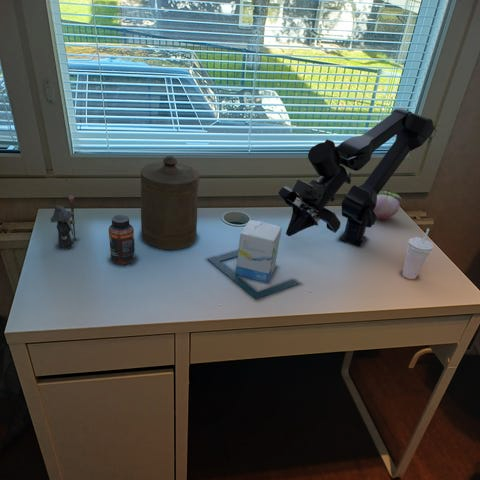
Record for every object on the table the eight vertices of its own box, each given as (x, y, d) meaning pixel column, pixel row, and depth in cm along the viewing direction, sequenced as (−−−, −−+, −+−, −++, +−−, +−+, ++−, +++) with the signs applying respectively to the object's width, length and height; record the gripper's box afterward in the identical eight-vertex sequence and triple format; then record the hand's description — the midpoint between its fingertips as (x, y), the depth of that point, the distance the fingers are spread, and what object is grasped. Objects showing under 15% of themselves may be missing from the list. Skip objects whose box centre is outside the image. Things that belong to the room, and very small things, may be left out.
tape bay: (249, 248, 129) (249, 247, 129) (298, 284, 117) (298, 283, 117) (208, 260, 122) (208, 259, 122) (255, 299, 110) (256, 298, 110)
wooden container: (203, 230, 135) (207, 153, 121) (185, 254, 123) (188, 172, 110) (154, 220, 137) (152, 143, 123) (132, 243, 125) (128, 160, 112)
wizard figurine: (75, 252, 119) (69, 207, 112) (52, 251, 118) (44, 206, 111) (80, 236, 125) (75, 193, 118) (58, 235, 125) (52, 192, 117)
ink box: (267, 283, 116) (274, 241, 109) (234, 274, 118) (239, 232, 111) (275, 266, 123) (282, 226, 116) (244, 258, 124) (249, 218, 117)
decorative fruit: (392, 215, 156) (401, 186, 150) (396, 226, 149) (405, 196, 143) (364, 211, 156) (372, 182, 150) (366, 222, 150) (374, 192, 144)
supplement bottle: (140, 258, 120) (138, 217, 113) (126, 268, 115) (123, 226, 108) (120, 251, 121) (117, 210, 114) (105, 261, 117) (102, 219, 110)
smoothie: (408, 283, 122) (426, 235, 114) (392, 271, 127) (408, 223, 118) (426, 279, 125) (445, 231, 117) (409, 267, 129) (426, 220, 121)
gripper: (289, 154, 118) (249, 204, 119) (343, 181, 107) (299, 235, 108) (306, 180, 127) (269, 225, 128) (357, 207, 116) (317, 257, 117)
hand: (287, 235), depth 120 cm, fingers closed
